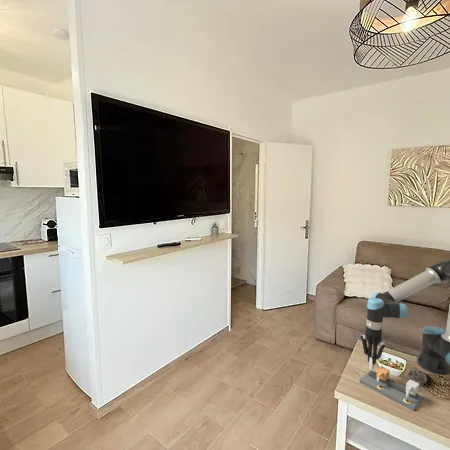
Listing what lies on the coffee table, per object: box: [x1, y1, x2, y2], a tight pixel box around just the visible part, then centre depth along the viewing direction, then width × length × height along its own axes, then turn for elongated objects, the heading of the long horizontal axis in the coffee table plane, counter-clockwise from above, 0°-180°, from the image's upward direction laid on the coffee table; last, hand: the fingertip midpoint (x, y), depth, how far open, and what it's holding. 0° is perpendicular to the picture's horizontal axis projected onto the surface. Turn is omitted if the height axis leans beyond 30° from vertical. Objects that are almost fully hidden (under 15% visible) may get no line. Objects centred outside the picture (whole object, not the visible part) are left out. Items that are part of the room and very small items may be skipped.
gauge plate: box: [359, 369, 424, 412], centre depth 139 cm, size 12×25×8 cm, turn 38°
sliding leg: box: [376, 366, 391, 385], centre depth 143 cm, size 9×4×5 cm, turn 128°
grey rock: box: [407, 367, 433, 387], centre depth 147 cm, size 7×11×10 cm
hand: (371, 368), depth 148 cm, fingers closed
